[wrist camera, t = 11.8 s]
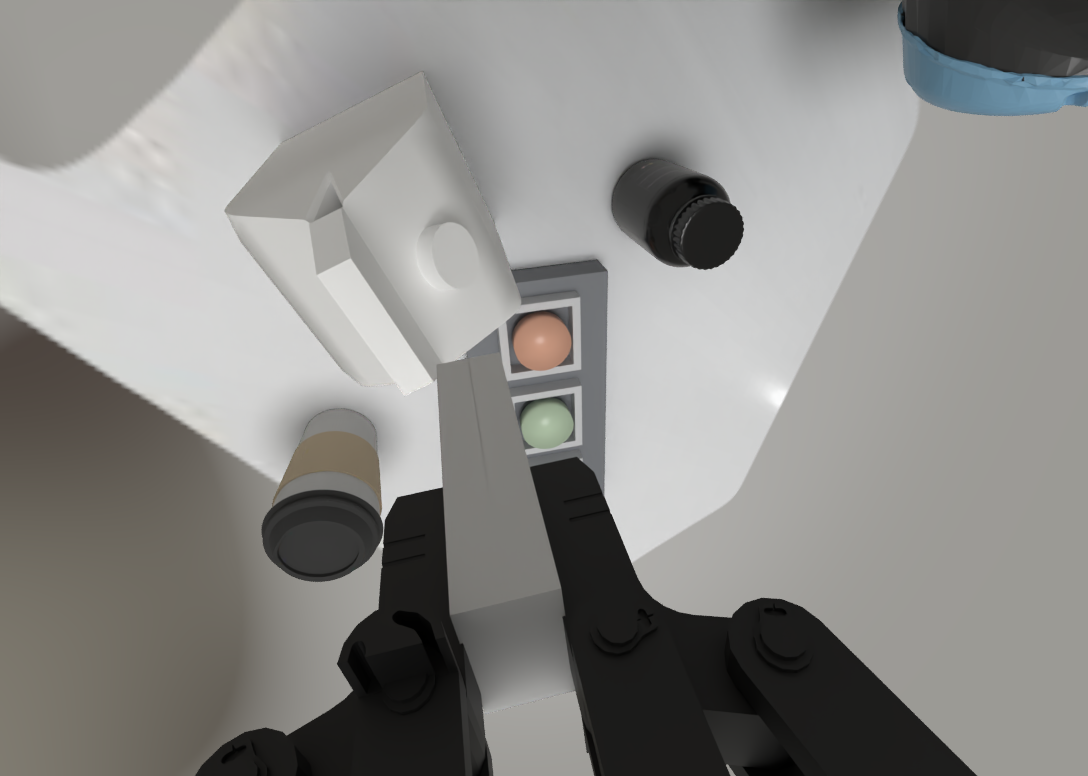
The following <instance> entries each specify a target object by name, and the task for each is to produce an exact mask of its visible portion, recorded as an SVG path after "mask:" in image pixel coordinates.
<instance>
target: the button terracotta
mask: <svg viewBox="0 0 1088 776" xmlns="http://www.w3.org/2000/svg"><path fill="white" fill-rule="evenodd" d="M512 345H513V348H514V351H515V354H516V357H517V358H518V360H519V362H520V363H521V364H522V365H524V366H525V367H527V368H529V369H531V370H536V371H544V370H549V369H552V368H554V367H556V366H558V365H559V364H560V363H562V362H563V361H564V360H565V358H566V357H567V356H568V354H569V352H570V349H571V336H570V333H569V331H568V329H567V328H566V326H565V324H564V322H563V321H562V320H561V319H560V318H559V317H558V316H557V315H555V314H553V313H550V312H545V311H540V312H534V313H531V314H529V315H527V316H525V317H524V318H522V319H521V320H520V321H519V322H518V323H517V325H516V326H515V328H514V330H513V334H512Z"/></svg>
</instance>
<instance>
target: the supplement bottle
mask: <svg viewBox="0 0 1088 776" xmlns="http://www.w3.org/2000/svg"><path fill="white" fill-rule="evenodd" d="M612 209H613V215H614V218H615V221H616V223H617V225H618V226H619V228H620V229H621V230H622V231H623V232H624V233H625V234H626V235H627V236H629V237H630V238H631V239H632V240H634V241H635V242H636V243H637V244H639V245H640V246H641V247H642V248H644V249H645V250H646V251H647V252H649V253H650V254H651V255H652V256H654V257H655V258H656V259H658V260H659V261H661V262H662V263H664V264H666V265H669V266H673V267H688V266H692V267H693V268H697V269H704V270H706V269H712V268H714V267H718V266H719V265H721V264H724V263H725V261H727V260H729V259H730V257H731V256H732V255H734V253H735V251H736V250H737V249H738V246H739V244H740V243H741V239H742V237H743V231H744V228H743V225H744V223H743V221H742V216H741V215H740V211H738V210H737V208H736V207H735V206H733V205H732V204H731V203H730V199H729V197H728V194H727V192H726V191H725V189H724V188H723V187H722V186H721V184H720V183H718V182H717V181H716V180H714V179H712V178H710V177H708V176H706V175H703V174H701V173H698V172H696V171H693V170H690V169H688V168H685V167H682V166H680V165H677V164H675V163H672V162H669V161H666V160H662V159H647V160H644V161H641V162H639V163H637V164H635V165H634V166H632V167H631V168H629V169H628V170H627V171H626V172H625V173H624V175H623V176H622V177H621V179H620V180H619V182H618V184H617V186H616V188H615V191H614V195H613V201H612Z"/></svg>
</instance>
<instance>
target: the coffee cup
mask: <svg viewBox="0 0 1088 776" xmlns="http://www.w3.org/2000/svg"><path fill="white" fill-rule="evenodd" d="M381 511H382V502H381V486H380V470H379V459H378V455H377V438H376V431H375V428H374V426H373V425H372V423H371V422H370V421H369V420H368V419H367V418H366V417H365V416H363V415H362V414H360V413H358V412H355V411H352V410H347V409H332V410H328V411H324V412H322V413H320V414H318V415H317V416H315V417H314V418H313V419H312V420H311V421H310V422H309V423H308V425H307V427H306V429H305V432H304V434H303V436H302V439H301V441H300V443H299V446H298V447H297V449H296V450H295V452H294V454H293V457H292V459H291V461H290V463H289V465H288V468H287V470H286V472H285V474H284V476H283V479H282V481H281V483H280V485H279V488H278V490H277V492H276V494H275V496H274V499H273V503H272V508H271V510H270V511H269V512H268V513H267V515H266V516H265V518H264V520H263V524H262V537H263V546H264V549H265V552H266V554H267V555H268V557H269V558H270V559H271V560H272V562H273V563H275V564H276V565H277V566H278V567H279V568H281V569H282V570H283V571H285V572H286V573H287V574H289V575H291V576H293V577H295V578H298V579H301V580H305V581H313V582H314V581H315V582H322V581H330V580H335V579H338V578H341V577H343V576H345V575H347V574H349V573H351V572H352V571H353V570H355V569H357V568H359V567H360V566H362V565H363V564H364V563H365V562H367V561H368V560H369V559H370V557H371V556H372V555H373V553H374V552H375V550H376V548H377V546H378V545H379V543H380V541H381V539H382V535H383V523H382V520H381V517H380V515H381Z"/></svg>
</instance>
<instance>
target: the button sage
mask: <svg viewBox="0 0 1088 776" xmlns="http://www.w3.org/2000/svg"><path fill="white" fill-rule="evenodd" d="M573 425H574V423H573V419H572V416H571V414H570V412H569V410H568V407H567V406H566V404H565V403H564V402H562V401H561V400H559V399H556V398H551V397H548V398H542V399H537V400H535V401H533V402H531V403H530V404H529V405H527V406H526V407H525V409H524V410H523V411H522V413H521V416H520V427H521V430H522V434H523V437H524V439H525V441H526V442H527V443H528V444H529V445H531V446H533V447H535V448H539V449H550V448H554V447H556V446H559V445H560V444H562V443H563V442H565V441H566V440H567V439H568V438H569V436H570V435H571V433H572V431H573Z"/></svg>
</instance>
